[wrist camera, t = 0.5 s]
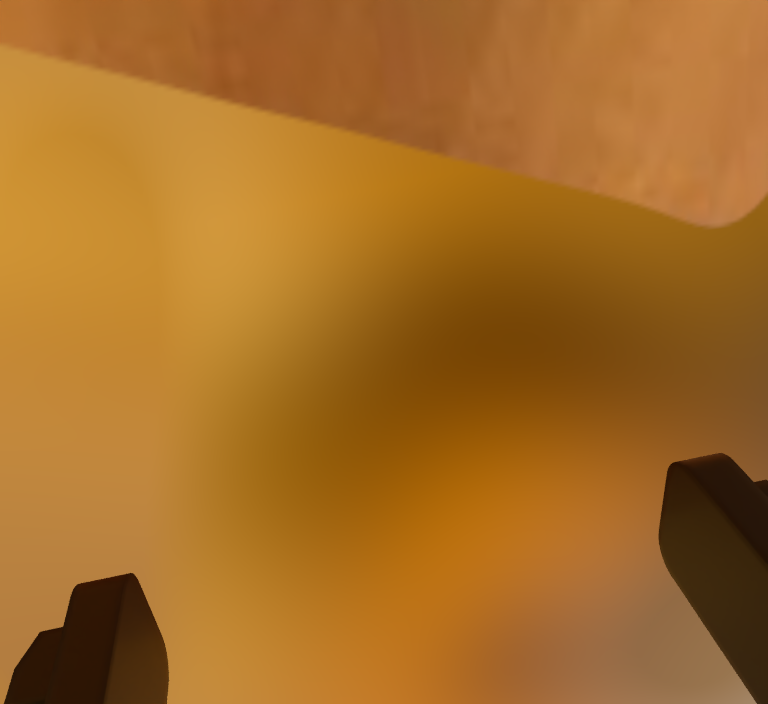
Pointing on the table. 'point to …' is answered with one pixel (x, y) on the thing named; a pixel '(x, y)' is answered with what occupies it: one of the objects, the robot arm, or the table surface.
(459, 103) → the table surface
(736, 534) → the robot arm
